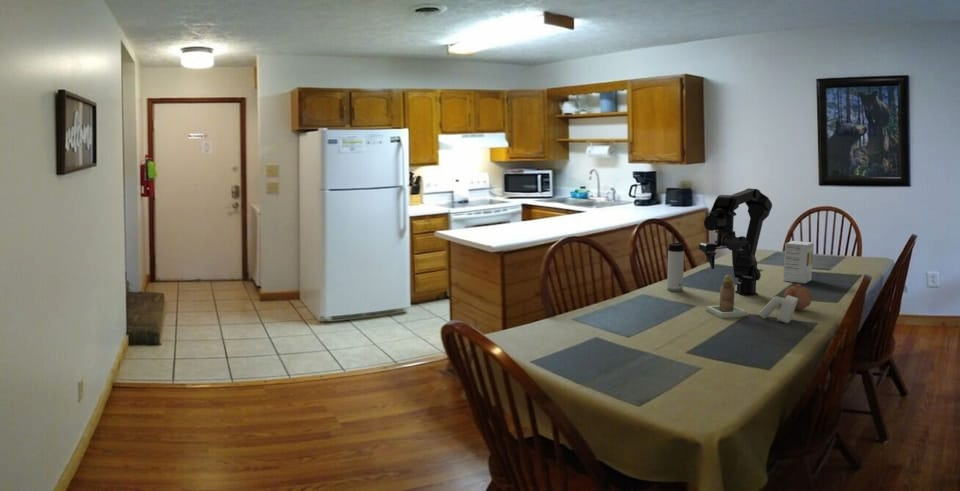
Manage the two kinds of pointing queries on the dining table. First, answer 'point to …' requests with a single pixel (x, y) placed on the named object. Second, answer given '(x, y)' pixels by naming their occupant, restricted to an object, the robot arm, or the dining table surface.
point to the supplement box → (798, 261)
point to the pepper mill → (727, 295)
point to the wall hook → (785, 310)
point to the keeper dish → (736, 312)
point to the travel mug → (675, 266)
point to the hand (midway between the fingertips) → (723, 268)
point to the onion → (799, 295)
